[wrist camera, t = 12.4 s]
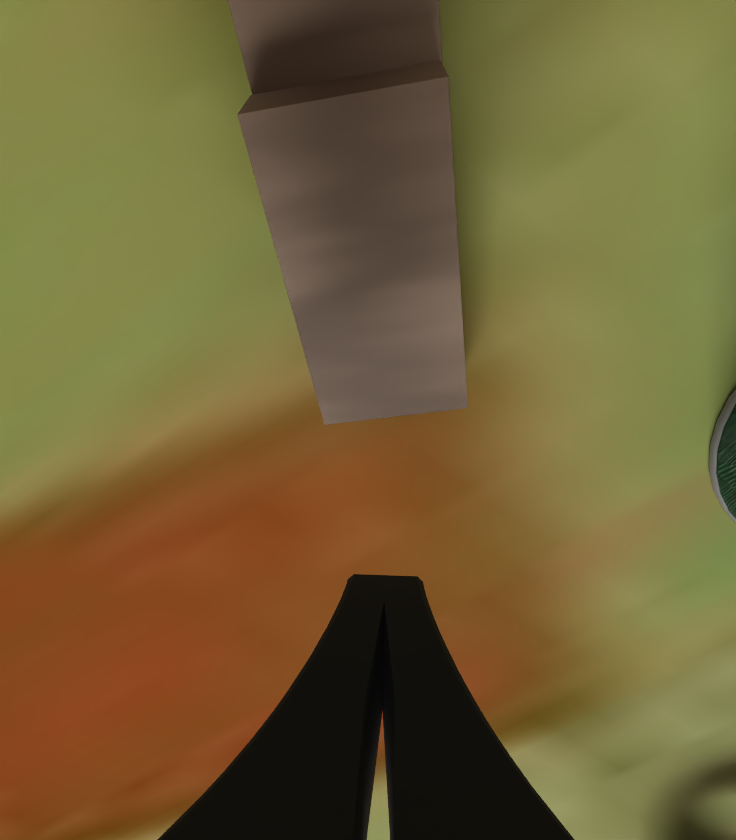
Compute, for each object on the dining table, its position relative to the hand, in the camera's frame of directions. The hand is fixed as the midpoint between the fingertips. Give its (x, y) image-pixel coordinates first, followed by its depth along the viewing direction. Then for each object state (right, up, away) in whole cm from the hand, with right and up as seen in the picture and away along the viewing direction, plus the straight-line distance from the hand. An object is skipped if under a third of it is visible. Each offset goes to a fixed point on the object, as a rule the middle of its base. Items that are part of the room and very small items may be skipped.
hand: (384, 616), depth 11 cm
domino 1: (0, +4, +5) cm, 7 cm away
